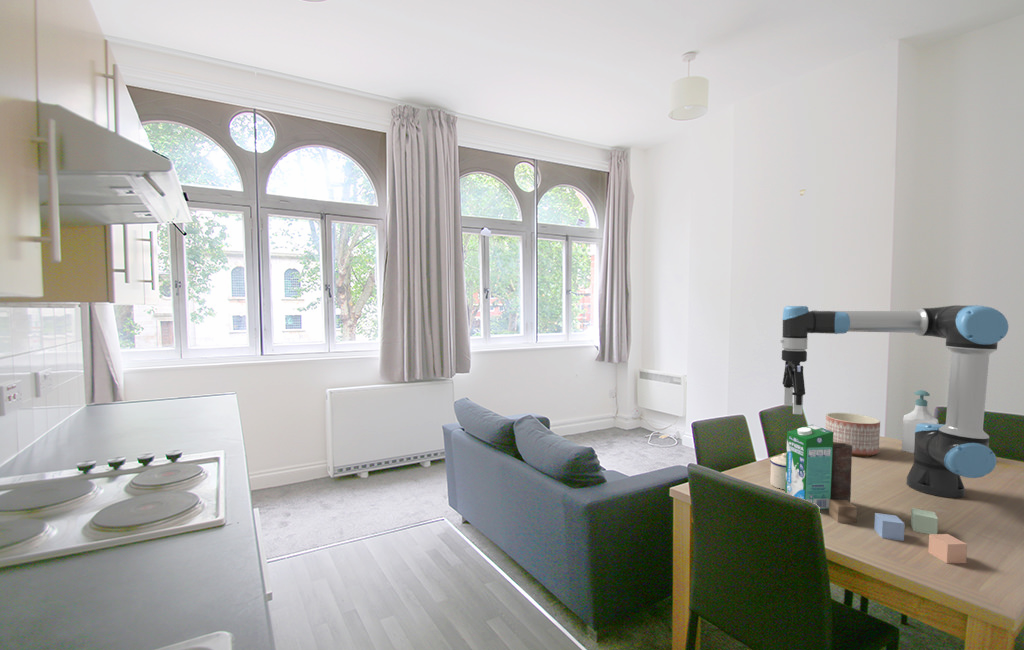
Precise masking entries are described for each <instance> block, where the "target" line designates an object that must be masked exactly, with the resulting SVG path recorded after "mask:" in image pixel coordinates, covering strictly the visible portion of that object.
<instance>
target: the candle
mask: <svg viewBox="0 0 1024 650" xmlns="http://www.w3.org/2000/svg"><path fill="white" fill-rule="evenodd" d="M852 457H853V455H852V445H851V444H846V443H838V442H833V456H832V481H831V499H834V500H848V501H849V502H850V503H851V498H852V497H851V494H852V492H851V491H852V463H853V462H852Z"/></svg>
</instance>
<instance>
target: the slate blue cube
mask: <svg viewBox="0 0 1024 650" xmlns="http://www.w3.org/2000/svg"><path fill="white" fill-rule="evenodd" d="M905 524H906V523H905V522H904V521H902V519H901V518H900V517H898V516H897V515H894V514H885V513H880V512H879V513H877V512H875V513H874V531H875V532H876V533H877V534H878V536H879V537H880V538H882V539H888V540H892V541H893V540H894V541H902V542H904V541H905V527H906V525H905Z"/></svg>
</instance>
